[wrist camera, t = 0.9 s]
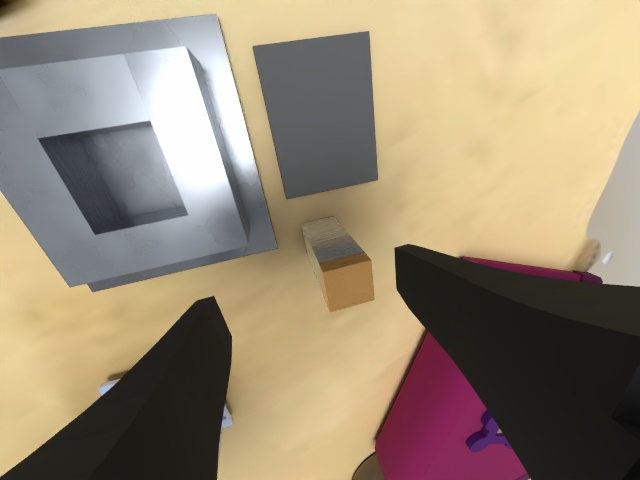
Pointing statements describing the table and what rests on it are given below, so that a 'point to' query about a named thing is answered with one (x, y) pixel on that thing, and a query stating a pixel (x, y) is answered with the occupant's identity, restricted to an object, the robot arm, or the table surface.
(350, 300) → the orange and grey block
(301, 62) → the mat
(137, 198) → the block
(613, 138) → the table surface
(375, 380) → the table surface
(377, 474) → the wooden container
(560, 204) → the table surface
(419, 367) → the book
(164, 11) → the table surface
